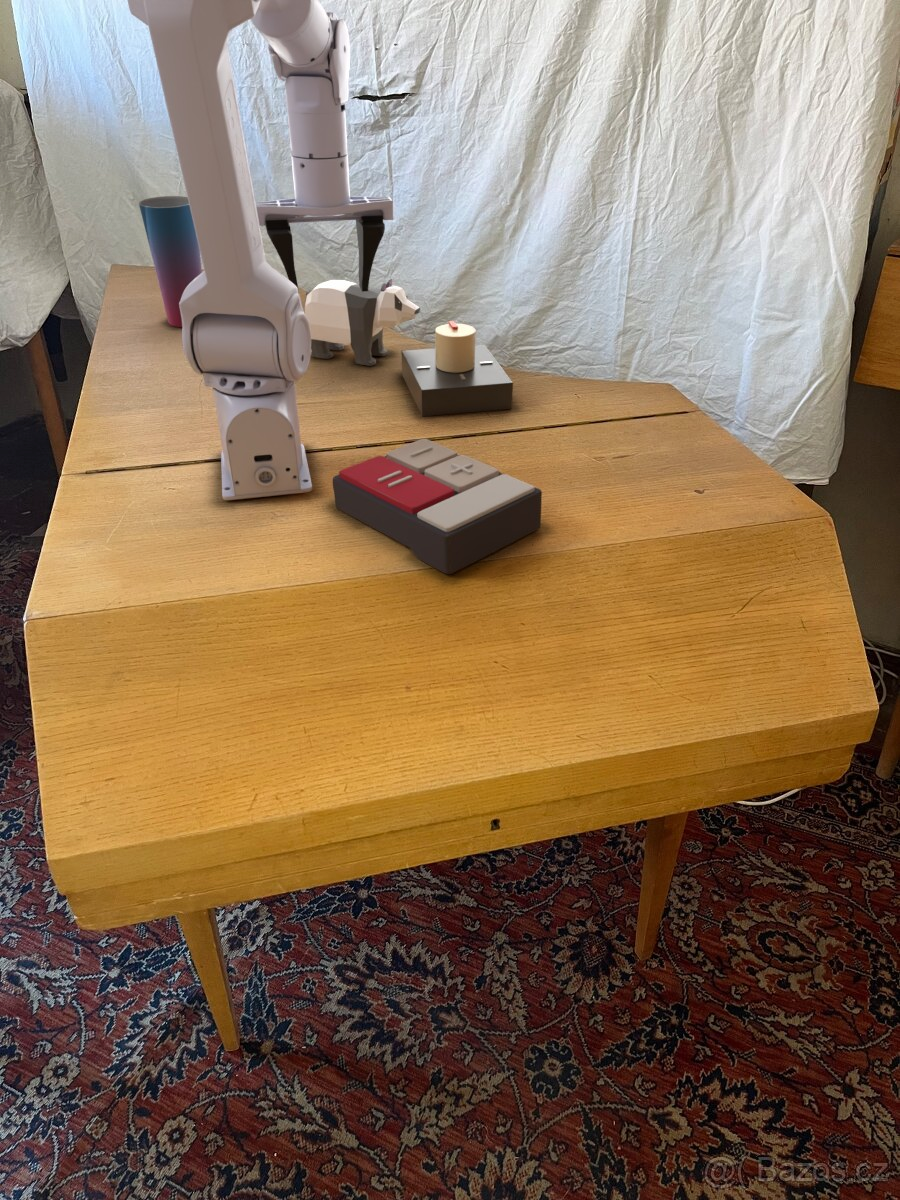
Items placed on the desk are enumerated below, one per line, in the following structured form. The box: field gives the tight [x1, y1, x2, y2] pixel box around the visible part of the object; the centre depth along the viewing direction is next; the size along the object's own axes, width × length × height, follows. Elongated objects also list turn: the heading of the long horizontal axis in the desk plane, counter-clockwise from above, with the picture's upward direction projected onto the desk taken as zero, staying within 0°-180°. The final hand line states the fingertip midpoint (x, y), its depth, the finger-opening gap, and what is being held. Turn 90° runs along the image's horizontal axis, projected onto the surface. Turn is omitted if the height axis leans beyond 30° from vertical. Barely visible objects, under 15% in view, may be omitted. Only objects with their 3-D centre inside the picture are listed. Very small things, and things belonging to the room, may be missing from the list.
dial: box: [434, 320, 477, 373], centre depth 94 cm, size 4×4×4 cm
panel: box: [401, 344, 514, 417], centre depth 96 cm, size 12×10×3 cm
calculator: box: [332, 438, 543, 575], centre depth 73 cm, size 11×4×15 cm
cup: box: [138, 195, 203, 328], centre depth 112 cm, size 7×7×15 cm
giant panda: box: [304, 278, 421, 367], centre depth 103 cm, size 15×6×10 cm, turn 70°
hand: (329, 291), depth 95 cm, fingers open, 7 cm apart
